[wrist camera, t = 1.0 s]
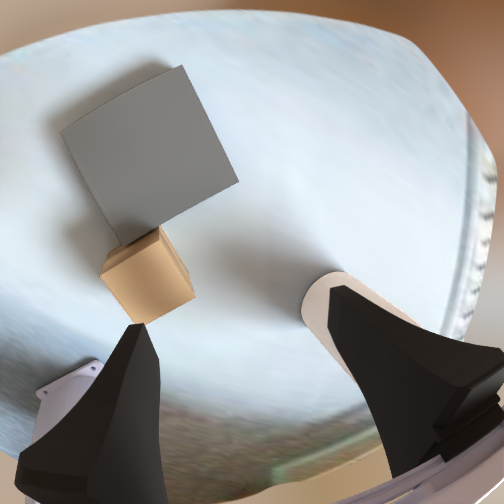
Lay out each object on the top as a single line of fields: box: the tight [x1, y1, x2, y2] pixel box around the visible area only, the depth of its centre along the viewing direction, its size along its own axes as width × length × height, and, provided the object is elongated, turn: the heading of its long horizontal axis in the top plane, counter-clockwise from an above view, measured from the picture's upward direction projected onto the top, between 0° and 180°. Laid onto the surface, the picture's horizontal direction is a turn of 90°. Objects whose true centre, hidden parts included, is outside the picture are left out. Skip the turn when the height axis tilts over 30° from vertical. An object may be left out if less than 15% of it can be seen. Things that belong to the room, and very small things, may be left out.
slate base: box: [61, 65, 239, 247], centre depth 19 cm, size 9×9×2 cm
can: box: [301, 272, 424, 388], centre depth 23 cm, size 6×6×12 cm
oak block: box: [100, 225, 195, 325], centre depth 20 cm, size 4×4×4 cm
